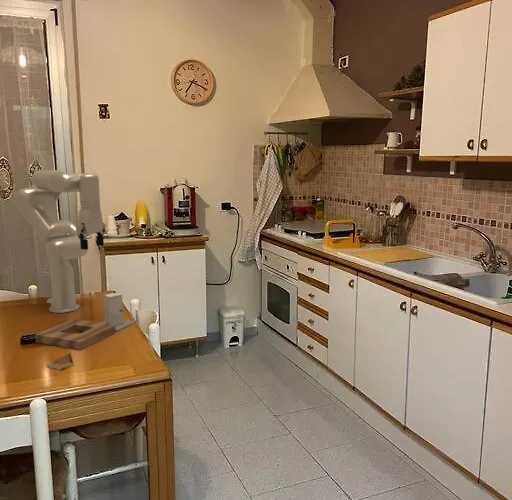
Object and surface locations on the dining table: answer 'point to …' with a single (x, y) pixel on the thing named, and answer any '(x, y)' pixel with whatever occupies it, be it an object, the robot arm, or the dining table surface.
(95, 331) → the walnut holder
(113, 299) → the skincare box
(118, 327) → the grey mat
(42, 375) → the dining table surface
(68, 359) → the shard
